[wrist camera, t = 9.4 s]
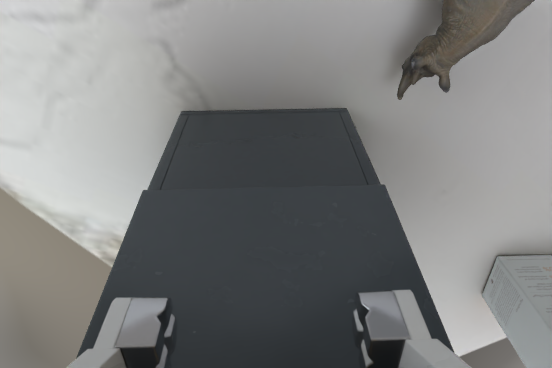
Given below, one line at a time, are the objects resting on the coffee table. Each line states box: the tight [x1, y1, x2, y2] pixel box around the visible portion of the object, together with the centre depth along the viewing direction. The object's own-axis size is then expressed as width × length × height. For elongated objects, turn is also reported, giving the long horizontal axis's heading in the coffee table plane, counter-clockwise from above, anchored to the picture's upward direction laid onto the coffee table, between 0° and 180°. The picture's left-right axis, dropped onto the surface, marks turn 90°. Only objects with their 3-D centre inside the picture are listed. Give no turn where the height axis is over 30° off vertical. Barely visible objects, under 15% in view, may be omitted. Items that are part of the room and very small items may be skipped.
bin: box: [148, 108, 381, 190], centre depth 30 cm, size 14×12×11 cm
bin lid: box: [76, 185, 454, 368], centre depth 14 cm, size 15×12×5 cm
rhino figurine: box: [397, 0, 534, 100], centre depth 24 cm, size 4×14×6 cm, turn 145°
